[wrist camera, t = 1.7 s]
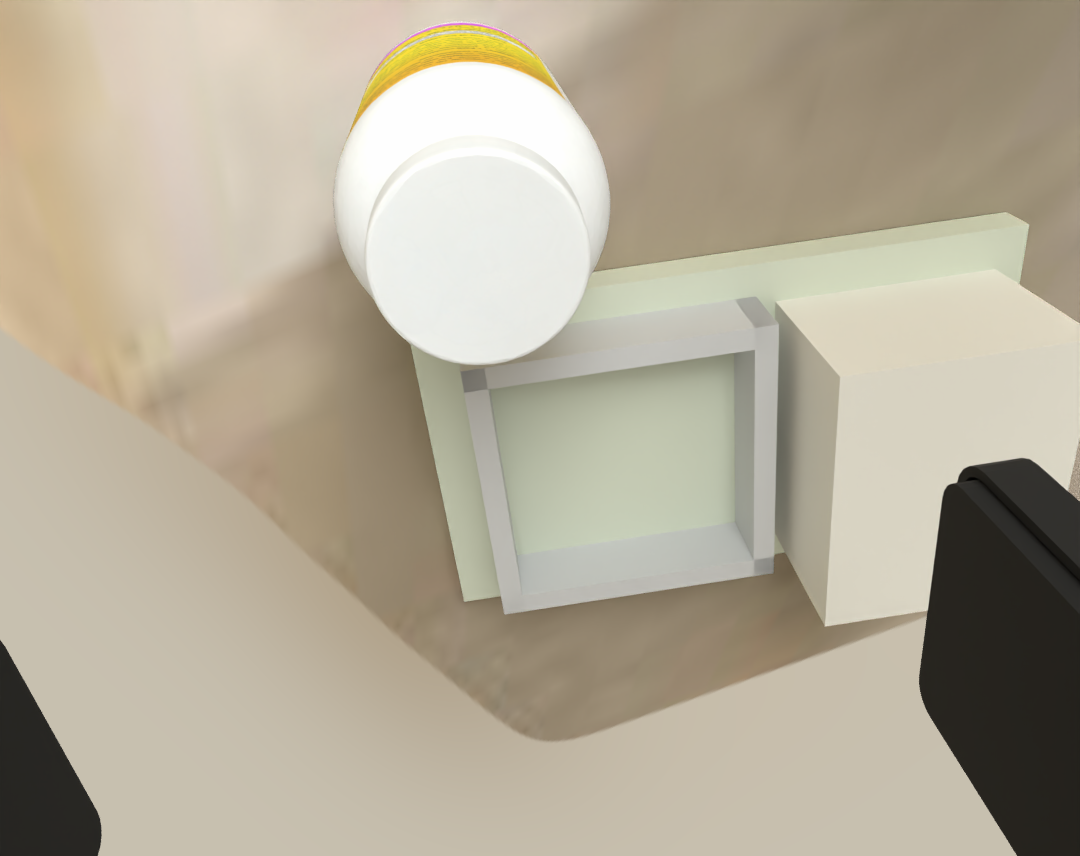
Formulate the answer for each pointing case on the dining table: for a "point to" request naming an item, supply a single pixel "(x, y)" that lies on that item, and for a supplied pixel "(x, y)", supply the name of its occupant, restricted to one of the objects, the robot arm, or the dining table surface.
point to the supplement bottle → (470, 195)
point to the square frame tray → (755, 420)
